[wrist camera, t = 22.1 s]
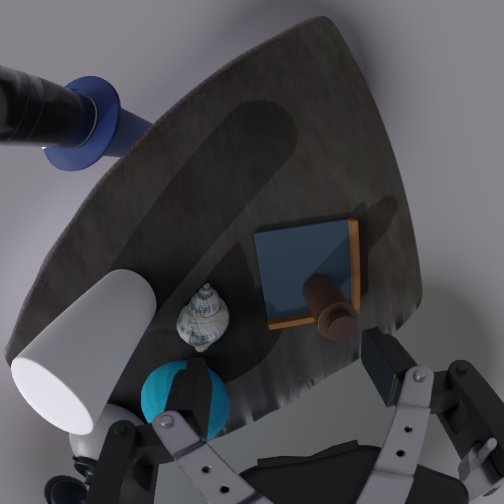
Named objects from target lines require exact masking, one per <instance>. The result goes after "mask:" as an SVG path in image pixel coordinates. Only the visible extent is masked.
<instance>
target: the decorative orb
mask: <svg viewBox="0 0 504 504" xmlns="http://www.w3.org/2000/svg"><path fill="white" fill-rule="evenodd" d="M186 365H187V361H183V360H177V361H173V362H169V363H165V364H163V365H162V366H160V367H159V368H157V369H156V370H154V371H153V372H152V373H151V374H150V375H149V377H148V378H147V380H146V382H145V384H144V385H143V388H142V392H141V406H142V411H143V413H144V416H145V418H146V420H147V422H148V423H151V422H152V421H153V419H154V418H155V416H156V415H158V414H159V413H161V412H163V411H164V408H165V404H166V401H167V398H168V394H169V391H170V387H171V385H172V381H173V377H174V375H175V374H176V373H177V372H178V371H179V369H186ZM207 368H208V367H207ZM208 371H209V374H210V377H211V381H212V387H213V391H212V400H211V408H210V417H209V426H208V435H207V440H209V439H210V438H212V437H214V436H215V435H216V434H217V433H218V432H219V431H220V430H221V429H222V428H223V427H224V425H225V423H226V421H227V418H228V415H229V412H230V400H229V394H228V391H227V388H226V387H225V385H224V383H223V382H222V380H221V379H220V377H219V376H218V375H217V374H216V373H214V372H213V371H212V370H211V369H210V368H208ZM205 441H206V440H205Z"/></svg>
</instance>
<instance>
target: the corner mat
mask: <svg viewBox="0 0 504 504" xmlns="http://www.w3.org/2000/svg"><path fill="white" fill-rule="evenodd" d="M254 238H255V245H256V251H257V257H258V263H259V270H260V276H261V282H262V289H263V295H264V301H265V308H266V314H267V321H268V327H269V330H273V329H279V328H285V327H290V326H296V325H301V324H307V323H312V322H315V321H314V319H313V317H312V314H311V312H310V310H309V308H308V306H307V304H306V302H305V299H304V297H303V295H302V287H303V285H304V283H305V281H306V280H307V279H308V278H309V277H311V276H312V275H315V274H325V275H328V276H329V277H330V278H331V279H332V280H333V281H334V283H335V284H336V285H337V286H338V288H339V289H340V290H341V291H342V293H343V294H344V295H345V296H346V298H347V299H348V300H349V302H350V303H351V304H352V305H353V307H354V308H355V310H356V312H357V313H358V312H360V252H359V232H358V220H355V219H353V218H346V219H339V220H332V221H325V222H318V223H312V224H305V225H298V226H292V227H285V228H279V229H272V230H266V231H260V232H254Z"/></svg>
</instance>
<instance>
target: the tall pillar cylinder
mask: <svg viewBox="0 0 504 504" xmlns="http://www.w3.org/2000/svg"><path fill="white" fill-rule="evenodd" d="M155 312H156V298H155V294H154V292H153V290H152V288H151V286H150V285H149V283H148V282H147V281H146V280H145V279H144V278H143V277H142V276H140V275H139V274H137V273H135V272H133V271H130V270H126V269H118V270H114V271H112V272H110V273H108V274H107V275H106V276H105V277H103V278H102V279H101V280H100V281H99V282H97V283H96V284H95V285H94V286H93V287H91V288H90V289H89V290H88V291H87V292H86V293H84V294H83V295H82V296H81V297H80V298H79V299H77V300H76V301H75V302H74V303H73V304H72V305H71V306H69V307H68V308H67V309H66V310H65V311H64V312H63V313H62V314H60V315H59V316H58V317H57V318H56V319H55V320H54V321H53V322H52V323H51V324H50V325H48V326H47V327H46V328H45V329H44V330H43V331H42V332H41V333H40V334H39V335H38V336H37V337H36V338H35V339H34V340H33V341H32V342H31V343H30V344H29V345H28V346H27V347H26V348H25V349H24V350H23V351H22V352H21V353H20V354H19V355H18V356H17V357H16V358H15V359H14V360H13V362H12V365H11V370H12V375H13V379H14V381H15V383H16V386H17V387H18V389H19V391H20V393H21V394H22V395H23V397H24V398H25V400H26V401H27V402H28V403H29V404H30V405H31V406H32V407H33V409H34V410H35V411H37V412H38V413H39V414H40V415H41V416H42V417H43V418H45V419H46V420H47V421H49V422H50V423H52V424H53V425H55V426H57V427H58V428H60V429H62V430H64V431H67V432H70V433H73V434H78V435H86V434H89V433H91V432H92V431H93V429H94V427H95V425H96V423H97V421H98V419H99V417H100V415H101V413H102V411H103V409H104V407H105V405H106V403H107V401H108V399H109V397H110V395H111V393H112V391H113V389H114V387H115V385H116V383H117V381H118V379H119V378H120V376H121V374H122V372H123V370H124V368H125V366H126V364H127V363H128V361H129V359H130V357H131V355H132V354H133V352H134V350H135V348H136V346H137V345H138V343H139V341H140V339H141V337H142V336H143V334H144V332H145V330H146V329H147V327H148V325H149V323H150V322H151V320H152V318H153V316H154V314H155Z"/></svg>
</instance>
